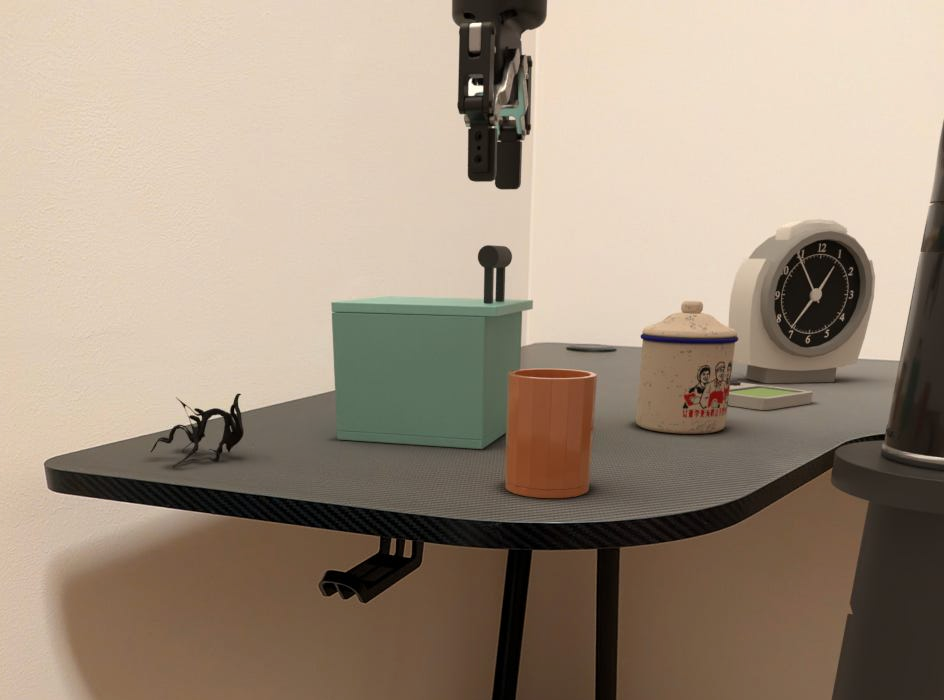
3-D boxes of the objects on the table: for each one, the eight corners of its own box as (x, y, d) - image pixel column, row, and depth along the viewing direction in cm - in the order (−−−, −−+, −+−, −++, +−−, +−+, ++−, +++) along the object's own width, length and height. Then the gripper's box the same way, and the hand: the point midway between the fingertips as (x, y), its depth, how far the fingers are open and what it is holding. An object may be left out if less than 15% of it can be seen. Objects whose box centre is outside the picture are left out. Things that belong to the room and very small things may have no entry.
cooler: (518, 424, 90) (522, 309, 86) (482, 449, 78) (484, 317, 74) (390, 416, 94) (388, 305, 90) (336, 439, 82) (331, 312, 78)
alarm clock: (746, 385, 120) (768, 217, 112) (715, 377, 128) (733, 219, 120) (865, 382, 124) (894, 220, 116) (828, 375, 132) (853, 222, 124)
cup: (594, 482, 67) (602, 370, 64) (581, 501, 62) (588, 380, 59) (516, 476, 69) (519, 367, 66) (495, 494, 63) (498, 376, 60)
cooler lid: (532, 309, 86) (535, 246, 84) (496, 317, 74) (498, 244, 72) (388, 305, 90) (387, 245, 87) (331, 311, 78) (328, 243, 75)
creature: (151, 483, 70) (252, 458, 71) (126, 414, 68) (230, 389, 68) (165, 462, 77) (256, 439, 78) (142, 399, 75) (237, 376, 75)
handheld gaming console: (709, 376, 116) (816, 388, 105) (708, 388, 116) (813, 402, 106) (658, 381, 110) (766, 395, 99) (657, 395, 111) (764, 410, 100)
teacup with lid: (691, 438, 84) (706, 304, 79) (614, 425, 90) (623, 300, 85) (761, 424, 91) (777, 301, 87) (685, 413, 98) (697, 298, 93)
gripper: (527, -83, 63) (519, 178, 69) (565, -26, 76) (555, 191, 82) (425, -74, 65) (426, 179, 71) (478, -20, 78) (475, 191, 84)
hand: (495, 185), depth 77 cm, fingers open, 8 cm apart
